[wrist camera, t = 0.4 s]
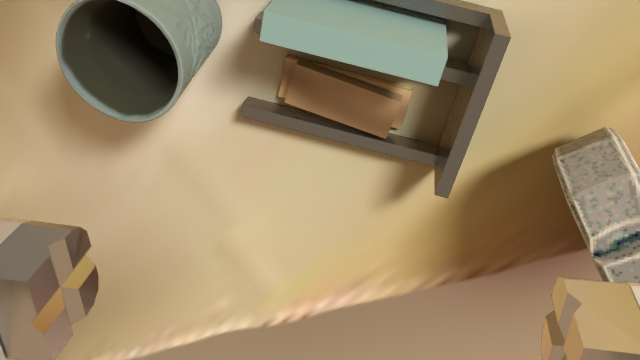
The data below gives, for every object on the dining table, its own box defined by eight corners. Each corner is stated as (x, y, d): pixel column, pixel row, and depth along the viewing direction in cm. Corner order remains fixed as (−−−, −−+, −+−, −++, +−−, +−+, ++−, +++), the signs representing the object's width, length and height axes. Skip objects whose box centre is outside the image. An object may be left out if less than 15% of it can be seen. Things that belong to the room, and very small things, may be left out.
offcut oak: (289, 52, 56) (285, 57, 55) (413, 85, 56) (412, 91, 54) (281, 90, 58) (278, 96, 57) (400, 122, 58) (400, 129, 57)
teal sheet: (288, -19, 52) (264, 10, 44) (445, 21, 52) (447, 57, 44) (284, 8, 53) (259, 40, 46) (437, 47, 53) (437, 86, 45)
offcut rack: (269, -48, 51) (248, -30, 45) (501, 10, 50) (510, 37, 44) (246, 107, 59) (225, 140, 53) (446, 159, 58) (447, 198, 52)
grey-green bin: (240, 62, 56) (198, 116, 46) (143, 74, 59) (83, 129, 49) (211, -50, 52) (157, -16, 41) (107, -32, 54) (31, 5, 44)
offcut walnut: (299, 58, 54) (296, 64, 53) (402, 95, 55) (401, 102, 53) (287, 95, 57) (284, 102, 55) (386, 131, 57) (385, 138, 56)
